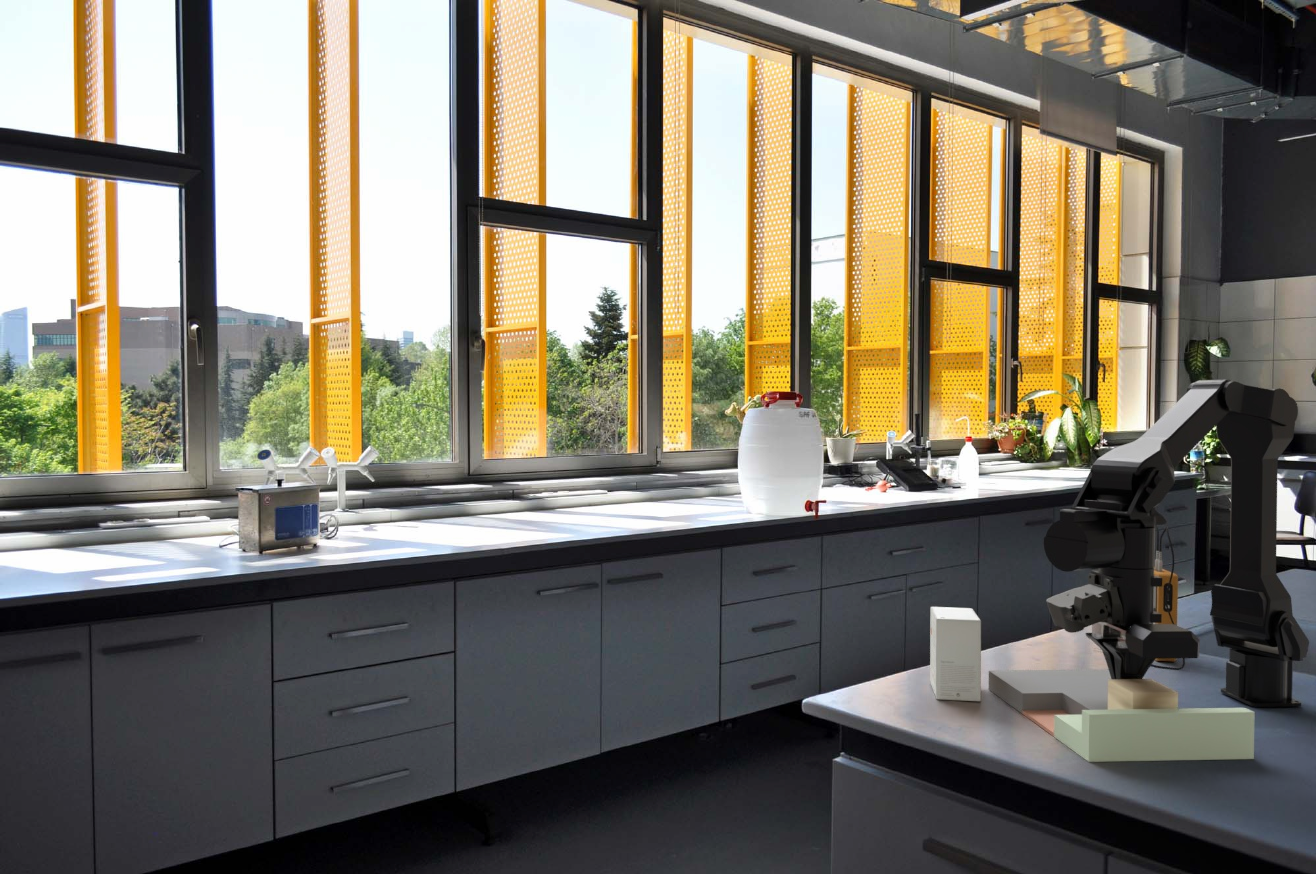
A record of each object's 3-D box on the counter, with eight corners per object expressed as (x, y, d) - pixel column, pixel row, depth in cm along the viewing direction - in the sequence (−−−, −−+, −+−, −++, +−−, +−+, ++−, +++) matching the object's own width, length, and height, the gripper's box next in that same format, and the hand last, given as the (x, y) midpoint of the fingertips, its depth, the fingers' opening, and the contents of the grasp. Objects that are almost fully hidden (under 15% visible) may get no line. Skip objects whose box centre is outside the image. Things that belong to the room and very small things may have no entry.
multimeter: (1081, 642, 148) (1084, 518, 147) (1148, 645, 146) (1150, 519, 146) (1114, 667, 133) (1116, 529, 132) (1188, 670, 132) (1190, 531, 131)
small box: (981, 703, 116) (982, 620, 116) (935, 700, 117) (935, 618, 117) (972, 685, 124) (973, 607, 124) (929, 682, 125) (930, 605, 125)
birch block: (1150, 713, 104) (1150, 678, 104) (1177, 728, 99) (1178, 692, 99) (1107, 714, 104) (1108, 679, 104) (1132, 729, 99) (1133, 692, 99)
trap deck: (1120, 687, 123) (1120, 650, 123) (1253, 758, 98) (1254, 712, 97) (988, 689, 122) (988, 651, 122) (1088, 761, 97) (1089, 714, 96)
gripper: (1021, 553, 115) (1019, 677, 115) (1101, 580, 96) (1098, 728, 96) (1108, 552, 115) (1105, 676, 116) (1204, 580, 97) (1201, 727, 97)
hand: (1123, 699), depth 106 cm, fingers closed
